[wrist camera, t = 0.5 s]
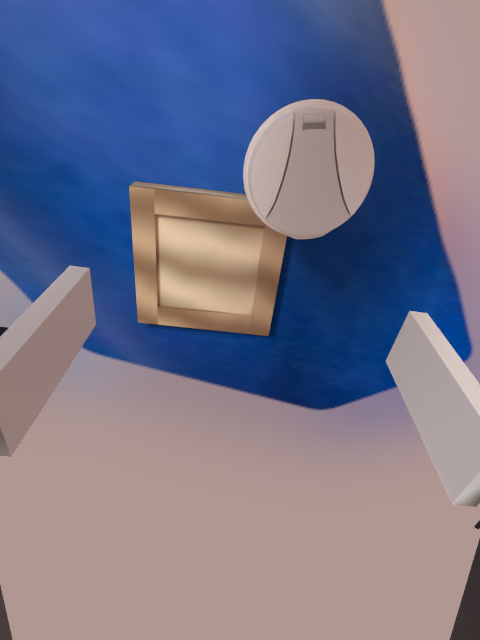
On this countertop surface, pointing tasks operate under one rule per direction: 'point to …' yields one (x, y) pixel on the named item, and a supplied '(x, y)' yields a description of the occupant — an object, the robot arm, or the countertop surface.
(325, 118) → the coffee cup
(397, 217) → the countertop surface
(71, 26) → the countertop surface
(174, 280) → the square tray
